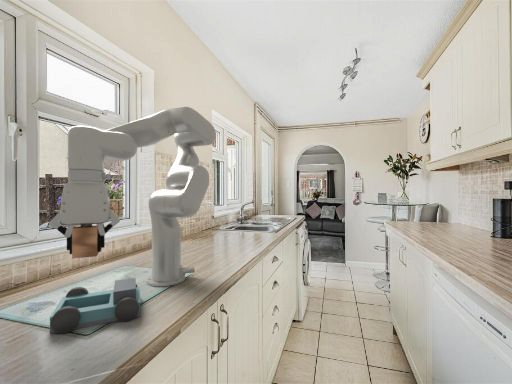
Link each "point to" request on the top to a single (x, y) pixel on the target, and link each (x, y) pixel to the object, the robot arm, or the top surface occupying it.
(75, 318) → the chassis
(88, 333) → the top surface
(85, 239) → the orange block with knob
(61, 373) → the top surface
